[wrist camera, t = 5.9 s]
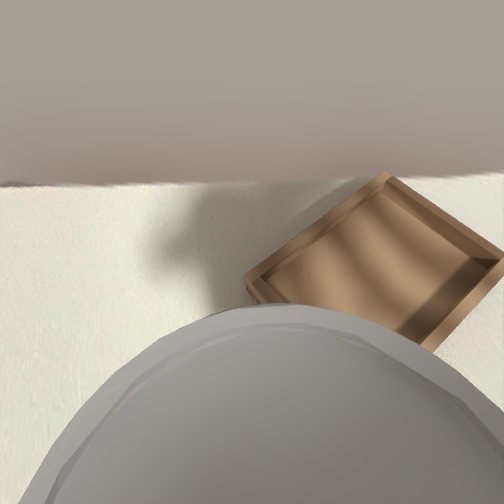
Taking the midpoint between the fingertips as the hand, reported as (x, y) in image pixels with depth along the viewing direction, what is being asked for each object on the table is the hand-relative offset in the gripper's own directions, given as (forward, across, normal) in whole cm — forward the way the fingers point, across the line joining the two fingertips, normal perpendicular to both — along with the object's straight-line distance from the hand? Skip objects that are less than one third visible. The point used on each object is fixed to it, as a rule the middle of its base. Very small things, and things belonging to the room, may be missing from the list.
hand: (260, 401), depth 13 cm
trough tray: (+18, -13, +4) cm, 22 cm away
